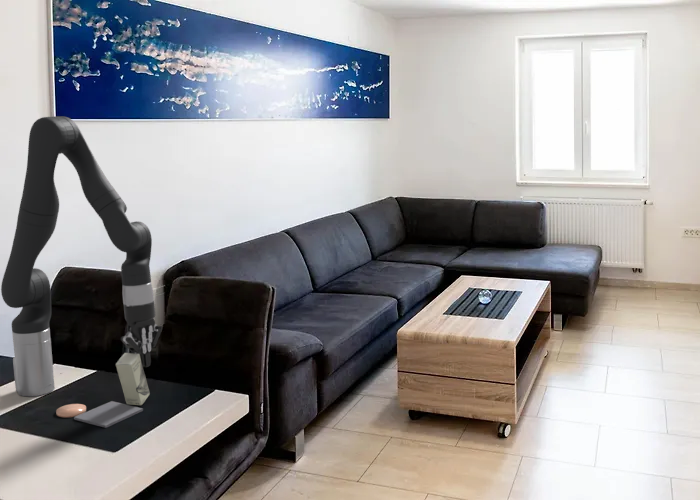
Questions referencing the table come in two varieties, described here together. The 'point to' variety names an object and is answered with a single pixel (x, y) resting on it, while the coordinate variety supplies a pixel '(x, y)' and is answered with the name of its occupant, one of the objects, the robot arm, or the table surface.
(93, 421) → the mat
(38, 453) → the table surface
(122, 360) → the box
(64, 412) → the glossy peach dome
